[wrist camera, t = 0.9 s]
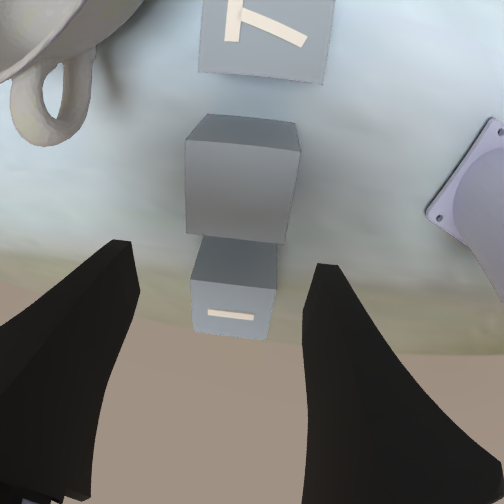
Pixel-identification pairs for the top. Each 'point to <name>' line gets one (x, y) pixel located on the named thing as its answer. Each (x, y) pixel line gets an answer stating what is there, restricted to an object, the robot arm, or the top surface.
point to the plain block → (240, 177)
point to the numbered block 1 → (234, 287)
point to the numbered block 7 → (266, 38)
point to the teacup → (54, 59)
